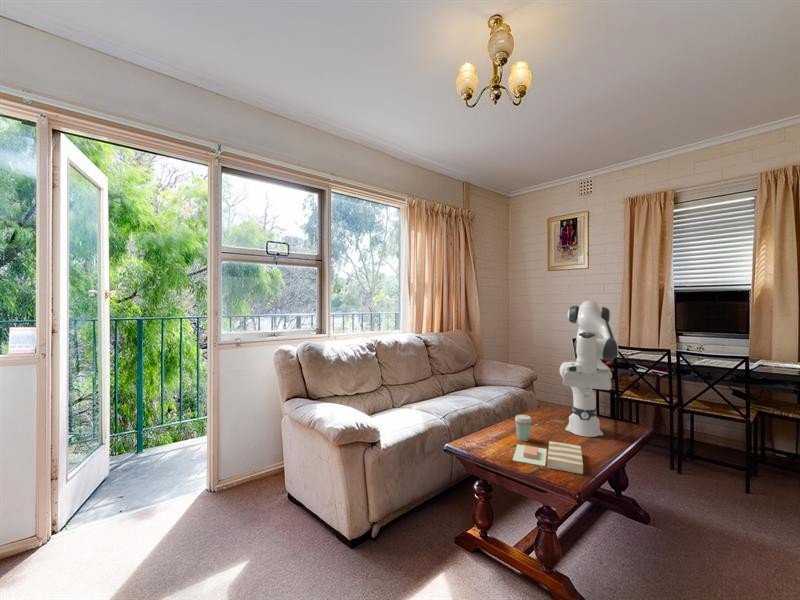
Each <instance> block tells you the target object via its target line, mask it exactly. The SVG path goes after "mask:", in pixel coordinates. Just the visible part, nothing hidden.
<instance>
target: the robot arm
mask: <svg viewBox="0 0 800 600" xmlns="http://www.w3.org/2000/svg"><path fill="white" fill-rule="evenodd" d="M610 311H611V310H610V309H609V308H608V307H604V306H599V304H598V303H597V302H596V301H593V300H585V301H583V302H582V303H581V304H580V305H572V306H570V307H569V309H568V310H567V319H568V321H569V322H570V323H573V324H578V325H579V326H578V328H577V332H576V339H575V341H574V343H573V347H574V349H573V353H574V354H575V355H576V359H575V361H563V362H562V363H561V365H560V366H559V374H560V376H561V378H562V385H563V386H564V387H570V389H571V391H572V397H573V399H572V400H573V401H572V404H573V405H572V408H571V409H572V413H571V414H570V415H569V416H568V424H567V425H566V427H565V431H567V432H570V433H573V435H577V436H581V437H588V438H591V437H592V438H595V437H598V436H604V433H603V431H602V430H601V429H600V419H599V418H598V417H597V408H596V402H597V401H596V394H595V392H594V390H602V391H603V390H604V391H610V390H611V389H612V381H611V379H612V378H613V373H612V370H611V369H610V367H608V365H606V364H605V363H604V362H603V361H602V360H606V361H613V360H614V359H617V357H618V355H619V345H618V344H617V341H616V339H615V337H614V334H613V331H612V328H611V326H610V324H609V322H610V321H611V318H612V314H611V312H610ZM598 334H599V335H601V336H602V338H598Z"/></svg>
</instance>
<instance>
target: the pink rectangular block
mask: <svg viewBox="0 0 800 600" xmlns="http://www.w3.org/2000/svg"><path fill="white" fill-rule="evenodd" d="M529 446H530V445H525V448H524V452H523V457H526V458H532V459H537V456H538V448H539V447H537V446H531V447H529ZM536 447H537V448H536Z"/></svg>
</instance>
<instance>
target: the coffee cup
mask: <svg viewBox="0 0 800 600" xmlns="http://www.w3.org/2000/svg"><path fill="white" fill-rule="evenodd" d="M514 421H515V429H516V438H517V440H518V441H520V442H528V441H529V440H530V436H531V435H530V434H531V427H532V422H533V420H532V417H531V416H530V415H526V414H516V415H515V418H514Z"/></svg>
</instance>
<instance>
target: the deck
mask: <svg viewBox="0 0 800 600" xmlns="http://www.w3.org/2000/svg"><path fill="white" fill-rule="evenodd" d="M547 452H548V453H547V468H548V469H553V470H559V471H562V472H563V471H565V472H569V473H575V474H579V475H583V474H584V463H583V461H584V460H583V455H582V446H581V445H578V444H571V443H563V442H556V441H548V449H547Z"/></svg>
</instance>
